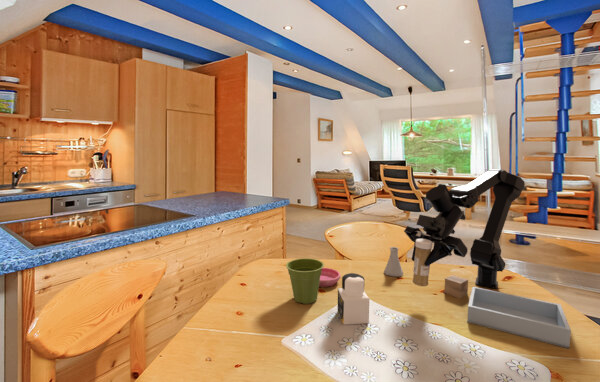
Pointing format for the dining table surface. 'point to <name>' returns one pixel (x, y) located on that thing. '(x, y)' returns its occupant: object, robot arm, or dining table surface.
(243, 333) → the dining table surface
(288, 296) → the dining table surface
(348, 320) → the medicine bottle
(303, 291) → the plant pot
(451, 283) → the walnut cube
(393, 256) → the flask
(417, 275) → the sprinkles bottle
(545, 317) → the tray
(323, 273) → the saucer
